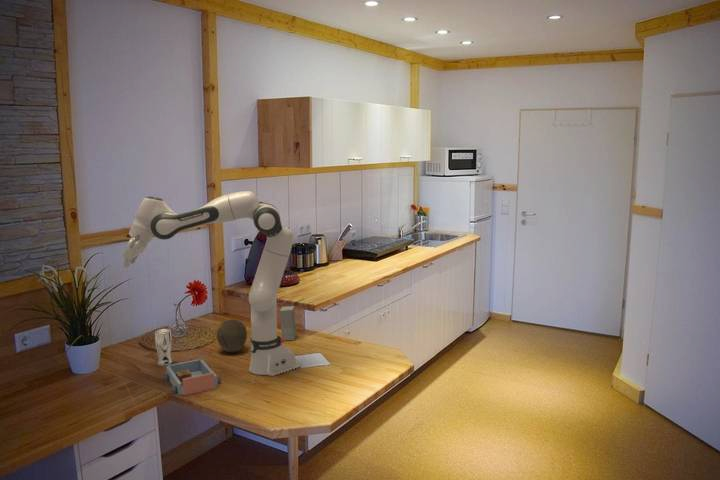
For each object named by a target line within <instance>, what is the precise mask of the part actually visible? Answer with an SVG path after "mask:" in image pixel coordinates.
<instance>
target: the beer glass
mask: <svg viewBox="0 0 720 480" xmlns="http://www.w3.org/2000/svg"><path fill="white" fill-rule="evenodd" d="M172 341H173V339H172V330H171V329H170V328H160V329H157V330H155V332H154V342H155V348H156V351H157V357H158V358H157V359H158V360H157V365H158V366H161V367H164V366H165V367H166V366H167V365H172V364H173V360H172V355H171V353H172V346H173V345H172V344H173V343H172Z"/></svg>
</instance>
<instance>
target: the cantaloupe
mask: <svg viewBox="0 0 720 480" xmlns="http://www.w3.org/2000/svg"><path fill="white" fill-rule="evenodd" d="M247 337H248V331H247V327H246V326H245V323H243V322H242V321H241V320H239V319H228V320H224V321H223V322H221V323H220V324H219V326H218V328H217V332H216V338H217V342H218V345H219V347H221V348H222V350H223V351H225V352H228V353H237V352H239V351H240V350H242V349H243V347H244V346H245V343H246V341H247Z"/></svg>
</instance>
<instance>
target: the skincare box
mask: <svg viewBox="0 0 720 480" xmlns="http://www.w3.org/2000/svg"><path fill="white" fill-rule="evenodd" d="M295 316H296V314H295V306H294V305H293V306H288V305H287V306H282V307H280V310H279V317H280V319H279V320H280V330H281V338H284V339H285V340H286V341H295V339H296V336H297V328H296V327H297V326H296V317H295Z"/></svg>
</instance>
